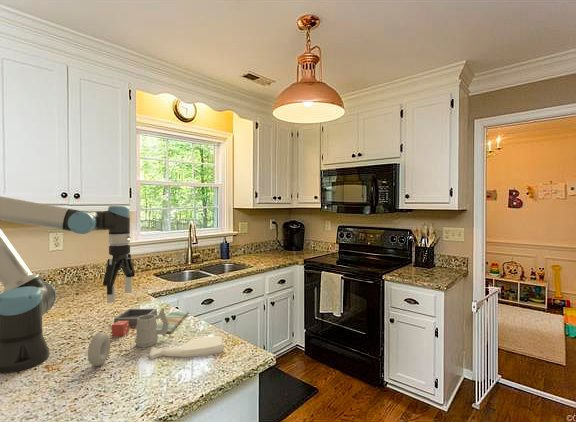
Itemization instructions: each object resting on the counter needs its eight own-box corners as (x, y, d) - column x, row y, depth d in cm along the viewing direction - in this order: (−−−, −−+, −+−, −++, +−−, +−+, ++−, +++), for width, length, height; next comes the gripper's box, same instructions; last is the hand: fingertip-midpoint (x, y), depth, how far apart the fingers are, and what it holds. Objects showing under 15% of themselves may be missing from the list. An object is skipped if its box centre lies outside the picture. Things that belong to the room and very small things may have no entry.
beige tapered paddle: (223, 354, 111) (147, 365, 105) (221, 341, 122) (152, 350, 115) (223, 346, 111) (146, 356, 104) (221, 334, 122) (151, 342, 115)
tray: (144, 325, 137) (144, 318, 137) (114, 325, 137) (114, 318, 137) (156, 315, 150) (156, 308, 150) (129, 315, 150) (128, 308, 150)
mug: (132, 342, 120) (132, 310, 120) (165, 334, 127) (164, 304, 127) (138, 349, 114) (138, 316, 114) (171, 341, 121) (171, 309, 121)
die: (123, 336, 126) (123, 324, 126) (111, 336, 126) (111, 324, 126) (129, 331, 131) (129, 320, 131) (118, 331, 131) (118, 320, 131)
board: (171, 333, 129) (171, 331, 129) (150, 333, 129) (150, 331, 129) (188, 313, 153) (188, 311, 153) (171, 313, 153) (171, 311, 153)
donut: (102, 357, 108) (101, 328, 108) (112, 357, 109) (112, 327, 108) (85, 372, 98) (85, 340, 98) (97, 372, 99) (96, 340, 98)
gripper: (112, 248, 116) (113, 307, 116) (142, 240, 140) (143, 289, 141) (91, 248, 115) (92, 307, 116) (125, 241, 140) (126, 289, 141)
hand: (120, 297), depth 128 cm, fingers open, 13 cm apart
